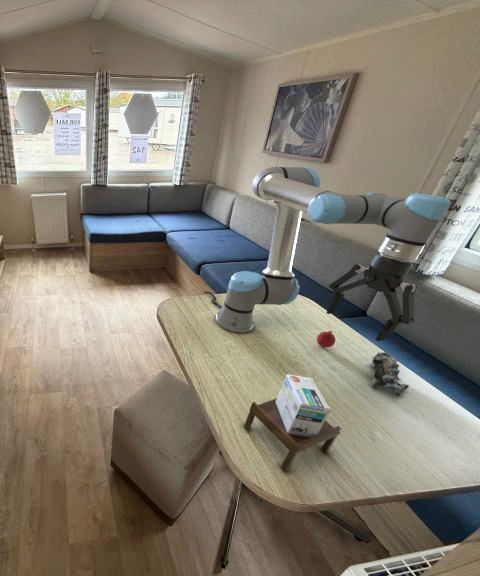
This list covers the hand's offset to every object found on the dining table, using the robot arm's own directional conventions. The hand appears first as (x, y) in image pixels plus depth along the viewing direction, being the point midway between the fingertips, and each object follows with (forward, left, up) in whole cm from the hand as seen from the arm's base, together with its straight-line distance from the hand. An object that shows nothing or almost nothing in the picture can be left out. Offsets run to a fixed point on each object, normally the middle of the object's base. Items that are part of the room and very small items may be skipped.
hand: (353, 325), depth 88 cm
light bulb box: (+9, -26, -19) cm, 33 cm away
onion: (-16, +24, -27) cm, 40 cm away
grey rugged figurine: (+4, +26, -27) cm, 38 cm away
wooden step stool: (+9, -26, -27) cm, 38 cm away
